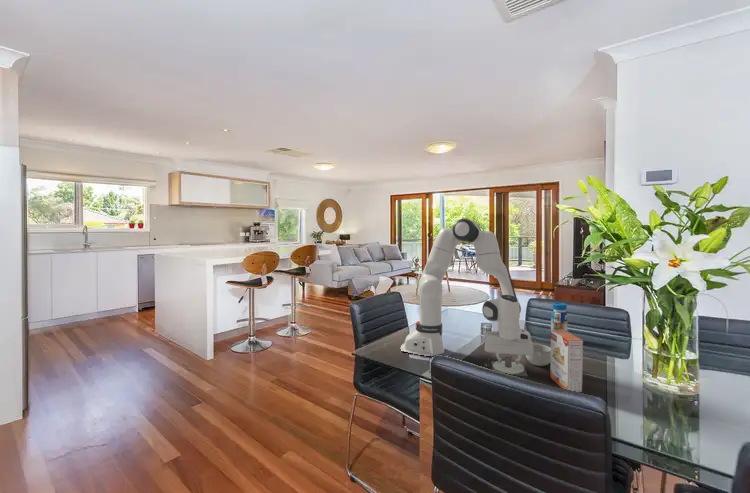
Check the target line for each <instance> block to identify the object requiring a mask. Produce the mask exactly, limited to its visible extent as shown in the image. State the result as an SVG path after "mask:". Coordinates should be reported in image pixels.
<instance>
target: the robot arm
mask: <svg viewBox="0 0 750 493" xmlns="http://www.w3.org/2000/svg"><path fill="white" fill-rule="evenodd" d="M433 241H434V242H433V243H432V246H431V250H430V253H429V255H428V258H427V261H426V263H425V266H424V268H423V270H422V273H421V276H420V278H419V281H418V284H419V285H418V286H419V320H417V321H416V322H415V329H414V330H413V331H411V332H410V333H408V334H407V335H406V337H405V340H404V342H403V343H402V344H401V346H400V349H401V351H404V352H408V353H413V354H412V355H414V354H418V355H417V356H420V355H424V356H423V357H426V356H431V357H433V356H439V355H443V354H444V353H445V347H444V341H443V331H444V330H443V323H442V306H443V305H442V304H443V284H442V282H443V280H444V278H445V276H446V273H447V271H448V270H449V268H450V264H451V262H452V260H453V256H454V253H455V251H456V248H457V246H458V245H459V243H461V244H463V243H465V244H472V245H473V247H474V253H475V261H476V265H477V267H478V269H479V270H480V271H481V272H483V273H484V274H487V275H490V276H492V277H494V278H496V280H497V281H498V283H499V287H500V290H501V294H502V295H500V296H499V297H497V298H494V299H490V300H486V301H484V303H483V305H482V309H481V310H482V315H483V316H484V318H485V319H486V320H487V321H490V322H497V323H498V324H497V325H498V328H497V331H491V330H490V331H489V330H488V331H486V332H485V333H484V334H483V338H484V339H483V340H484V351H485V352H486V353H492V354H495V356H496V358H497V361H498V363H502V361H503V360H502V357H500V354H503V355H504V354H505V355H515V356H516V355H517V356H518V357H517V358H515V359H514V362H515V364H519V363H520V361H521V359H522V358H523V356H526V355H527V356H532V355H533V354H534V348H533V341H532V336H531V334H530V332H529V331H528V330H526V329H523V328H520V323H519V322H520V317H521V315H520V314H521V311H522V308H521V307H522V306H521V304H520V302H519V298H518V297H517V294H516V290H515V288H514V284H513V281H512V277H511V273H510V271H509V268H508V267H507V265H505V264H504V261H503V260H502V256H501V250H500V246H499V243H498V239H497V236H496V234H495V233H494V232H493V231H490V230H484V231H483V230H482V229H481V227H480V225H479V224H478V223H476V222H475V221H473V220H472V219H471V220H470V219H468V218H460V219H458V220H456V221H455V222H454V224H453V225H452V228H450V227H442V228H441V229H440V230H439V231H438V234H437V235H436V237H435V239H434V240H433ZM401 351H400V352H401ZM408 353H407V354H408Z"/></svg>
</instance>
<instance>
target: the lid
mask: <svg viewBox="0 0 750 493" xmlns="http://www.w3.org/2000/svg"><path fill="white" fill-rule="evenodd" d="M512 360H513V357H512V356H511V355H510V354H505V356H504V360H502V363H498V360H496V361H497V362H494V363H493V368H494V369H495V370H497V371H500V372H503V373H507V374H520V373H523V372H524V367H525V366H524V367H523V366H522V365H521V364H515V361H512ZM507 374H506V375H507Z"/></svg>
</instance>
